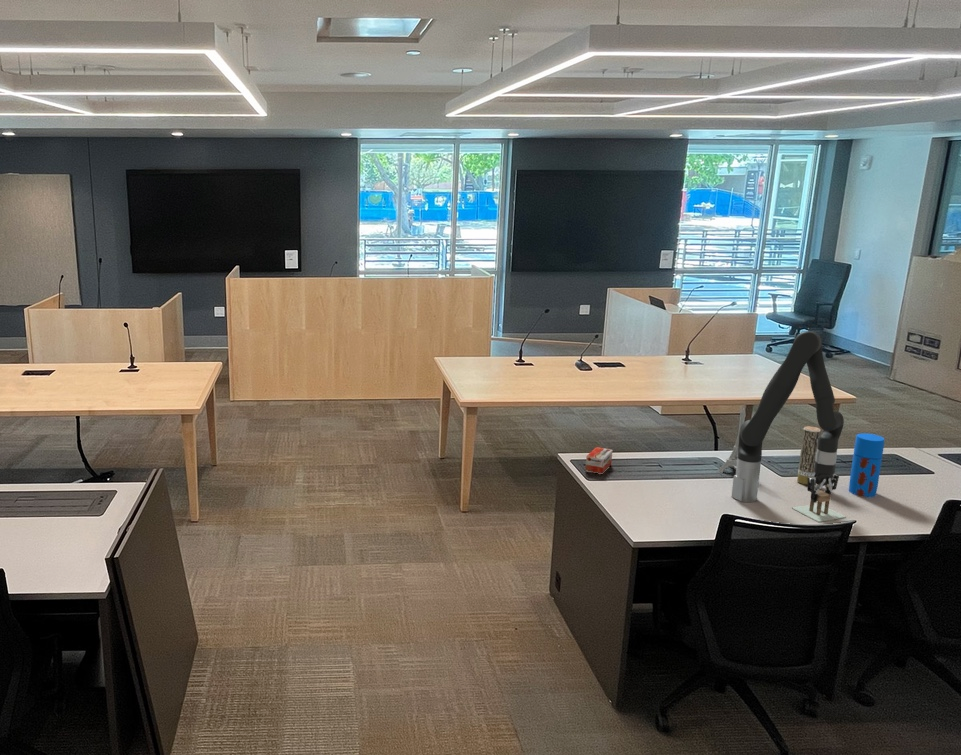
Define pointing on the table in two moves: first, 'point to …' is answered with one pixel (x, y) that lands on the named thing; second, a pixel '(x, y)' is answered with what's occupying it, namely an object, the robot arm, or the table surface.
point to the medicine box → (599, 460)
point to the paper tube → (808, 454)
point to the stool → (821, 498)
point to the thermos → (866, 465)
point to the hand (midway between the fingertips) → (820, 500)
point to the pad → (822, 517)
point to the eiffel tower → (734, 456)
